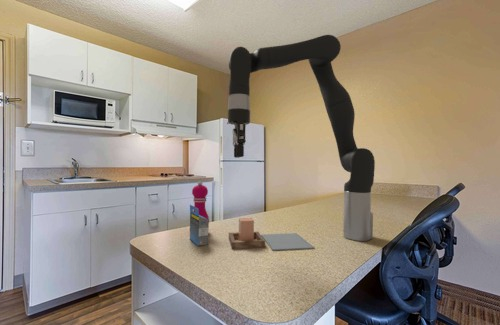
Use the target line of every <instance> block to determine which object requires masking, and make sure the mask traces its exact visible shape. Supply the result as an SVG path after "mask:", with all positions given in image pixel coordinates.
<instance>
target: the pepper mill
mask: <svg viewBox="0 0 500 325" xmlns="http://www.w3.org/2000/svg"><path fill="white" fill-rule="evenodd" d="M208 193H209V190H208V187H207V186H206V185H203V181H201V180H199V181H198V182H197V185H195V186H194V187H192V191H191V195H192V196H193V197H192V198H193V203H194V205H193V206H194V207H196V208H198V210H199V215H200V216H202V217H204V218H206V219H208V220H209V221H210V219H209V215H208V213H207V209H206V202H207V195H208ZM193 211H194V212H196V211H195V210H193Z"/></svg>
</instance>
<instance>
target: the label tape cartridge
mask: <svg viewBox="0 0 500 325" xmlns="http://www.w3.org/2000/svg"><path fill="white" fill-rule="evenodd" d="M194 210H195V211H196V212H194ZM209 224H210V219H209V220H208V219H206V218H204V217H202V216H200V215H199V210H198V208H196V207H194V205H192V204H189V240H190V241H192V242H193V243H194V244H195V245H196V246H197V247H201V246H207V245H209V226H210V225H209Z"/></svg>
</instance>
